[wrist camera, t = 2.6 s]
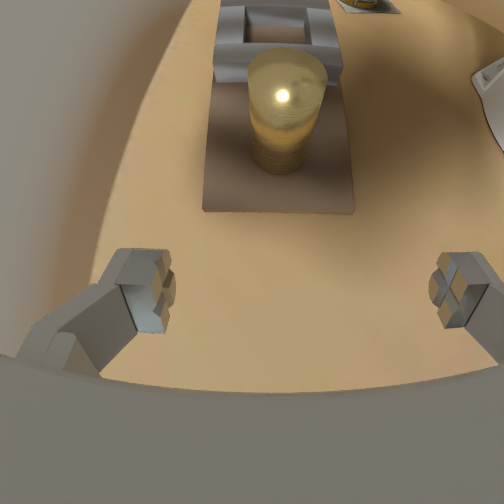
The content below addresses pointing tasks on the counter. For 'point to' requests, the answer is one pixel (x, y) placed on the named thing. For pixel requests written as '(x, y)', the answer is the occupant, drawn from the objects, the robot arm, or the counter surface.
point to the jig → (238, 113)
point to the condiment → (368, 6)
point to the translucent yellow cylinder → (284, 106)
